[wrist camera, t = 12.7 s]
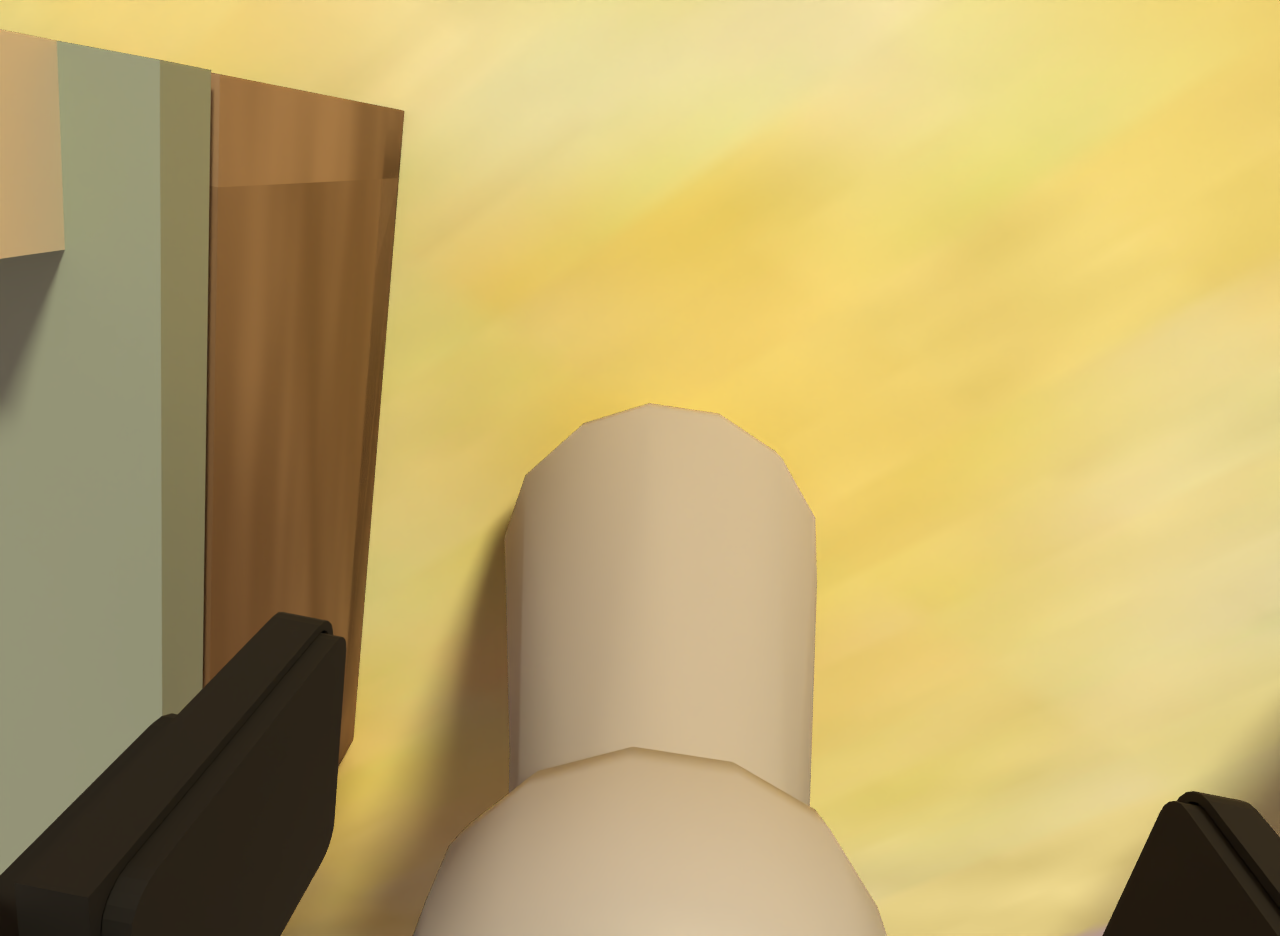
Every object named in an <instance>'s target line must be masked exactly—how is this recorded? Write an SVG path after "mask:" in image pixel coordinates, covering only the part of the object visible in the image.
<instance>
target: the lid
mask: <svg viewBox="0 0 1280 936" xmlns="http://www.w3.org/2000/svg"><path fill="white" fill-rule="evenodd" d="M210 110H211V70H207V69H203V68H198V67H193V66H188V65H183V64H178V63H173V62H168V61H163V60H158V59H153V58H147V57H142V56H137V55H131V54H126V53H120V52H115V51H110V50H104V49H99V48H94V47H88V46H83V45H78V44H72V43H67V42H61V41H56V40H51V39H46V38H41V37H36V36H31V35H26V34H21V33H16V32H11V31H6V30H1V29H0V875H1V874H2V873H3V872H4V871H5V870H6V869H7V868H8V867H9V866H10V865H11V864H12V863H13V862H14V861H15V860H16V859H17V858H18V857H19V856H20V855H21V854H22V853H23V852H24V851H25V850H26V849H27V848H28V847H29V846H30V845H31V844H32V843H33V842H34V841H35V840H36V839H37V838H38V837H39V836H40V835H41V834H42V833H43V832H44V831H45V830H46V829H47V828H48V827H49V826H50V825H51V824H52V823H53V822H54V821H55V820H56V819H57V818H58V817H59V816H60V815H61V814H62V813H63V812H64V811H65V810H66V809H67V808H68V807H69V806H70V805H71V804H72V803H73V802H74V801H75V800H76V799H77V798H78V797H79V796H80V795H81V794H82V793H83V792H84V791H85V790H86V789H87V788H88V787H89V786H90V785H91V784H92V783H93V782H94V781H95V780H96V779H97V778H98V777H99V776H100V775H101V774H102V773H103V772H104V771H105V770H106V769H107V768H108V767H109V766H110V765H111V764H112V763H113V762H114V761H115V760H116V759H117V758H118V757H119V756H120V755H121V754H122V753H123V752H124V751H125V750H126V749H127V748H128V747H129V746H130V745H131V744H132V743H133V742H134V741H135V740H136V739H137V738H138V737H139V736H140V735H141V734H142V733H143V732H144V731H145V730H146V729H147V728H148V727H149V726H150V725H151V724H152V723H153V722H155V721H156V720H157V719H159V718H160V717H161V716H164V715H167V714H171V713H173V714H178V713H179V712H180V711H181V710H182V709H183V708H184V707H185V706H186V705H187V704H188V703H189V702H190V701H191V700H192V699H193V698H194V697H195V696H196V695H197V694H198V693H199V692H200V691H201V690H202V684H203V613H204V541H205V469H206V397H207V325H208V254H209V182H210Z"/></svg>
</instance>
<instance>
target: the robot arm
mask: <svg viewBox="0 0 1280 936" xmlns="http://www.w3.org/2000/svg"><path fill="white" fill-rule="evenodd" d="M345 662H346V640H345V638H344V637H340V636H335V635H333V628H332V624H331V623H330V622H329V621H327V620H321V619H316V618H311V617H306V616H301V615H296V614H291V613H286V612H278V613H277V614H275V615H274V616H273V617H272V618H271V619H270V620H269V621H268V622H267V623H266V624H265V625H264V626H263V627H262V628H261V629H260V630H259V631H258V632H257V633H256V634H255V635H254V636H253V637H252V638H251V639H250V640H249V641H248V642H247V643H246V644H245V645H244V646H243V647H242V649H241V650H240V651H239V652H238V653H237V654H236V655H235V656H234V657H233V658H232V659H231V660H230V661H229V662H228V663H227V664H226V665H225V666H224V667H223V668H222V669H221V670H220V671H219V672H218V673H217V674H216V675H215V676H214V677H213V678H212V679H211V680H210V682H209V683H208V684H207V685H206V686H205V687H204V688H203V689H202V690H201V691H200V692H199V693H198V694H197V695H196V696H195V697H194V698H193V699H192V700H191V701H190V702H189V703H188V704H187V705H186V706H185V707H184V708H183V709H182V710H181V711H180V712H179V713H178V714H173V713H171V714H167V715H164V716H161V717H160V718H159V719H157V720H156V721H155V722H153V723H152V724H151V725H150V726H149V727H148V728H147V729H146V730H145V731H144V732H143V733H142V734H141V735H140V736H139V737H138V738H137V739H136V740H135V741H134V742H133V743H132V744H131V745H130V746H129V747H128V748H127V749H126V750H125V751H124V752H123V753H122V754H121V755H120V756H119V757H118V758H117V759H116V760H115V761H114V762H113V763H112V764H111V765H110V766H109V767H108V768H107V769H106V770H105V771H104V772H103V773H102V774H101V775H100V776H99V777H98V778H97V779H96V780H95V781H94V782H93V783H92V784H91V785H90V786H89V787H88V788H87V789H86V790H85V791H84V792H83V793H82V794H81V795H80V796H79V797H78V798H77V799H76V800H75V801H74V802H73V803H72V804H71V805H70V806H69V807H68V808H67V809H66V810H65V811H64V812H63V813H62V814H61V815H60V816H59V817H58V818H57V819H56V820H55V821H54V822H53V823H52V824H51V825H50V826H49V827H48V828H47V829H46V830H45V831H44V832H43V833H42V834H41V835H40V836H39V837H38V838H37V839H36V840H35V841H34V842H33V843H32V844H31V845H30V846H29V847H28V848H27V849H26V850H25V851H24V852H23V853H22V854H21V855H20V856H19V857H18V858H17V859H16V860H15V861H14V862H13V863H12V864H11V865H10V866H9V867H8V868H7V869H6V870H5V871H4V872H3V873H2V874H1V875H0V936H280V935H281V934H282V932H283V930H284V928H285V926H286V925H287V923H288V921H289V919H290V918H291V916H292V914H293V912H294V910H295V909H296V907H297V905H298V903H299V902H300V900H301V898H302V896H303V894H304V893H305V891H306V889H307V887H308V885H309V884H310V882H311V880H312V878H313V877H314V875H315V873H316V871H317V869H318V868H319V866H320V864H321V862H322V860H323V858H324V856H325V854H326V852H327V849H328V847H329V844H330V840H331V837H332V832H333V827H334V818H335V804H336V789H337V775H338V761H339V747H340V733H341V719H342V705H343V691H344V676H345ZM1103 936H1280V837H1279V836H1278V835H1277V834H1276V833H1275V831H1274V830H1273V829H1272V828H1271V827H1270V825H1269V824H1268V823H1267V822H1266V821H1265V819H1264V818H1263V817H1262V816H1261V815H1260V813H1259V812H1258V811H1257V810H1256V809H1255V808H1254V807H1253V806H1251V805H1250V804H1249V803H1246V802H1243V801H1240V800H1235V799H1230V798H1225V797H1220V796H1215V795H1210V794H1205V793H1200V792H1195V791H1192V792H1186V793H1185V794H1183V795H1182V796H1180V797H1179V799H1178V800H1177V801H1172V802H1168V803H1167V804H1166V805H1164V807H1163V808H1162V810H1161V811H1160V814H1159V816H1158V818H1157V820H1156V822H1155V824H1154V826H1153V829H1152V831H1151V833H1150V835H1149V837H1148V839H1147V842H1146V844H1145V846H1144V848H1143V850H1142V852H1141V854H1140V857H1139V859H1138V861H1137V863H1136V865H1135V867H1134V869H1133V872H1132V874H1131V876H1130V878H1129V880H1128V882H1127V884H1126V887H1125V889H1124V891H1123V893H1122V895H1121V897H1120V899H1119V902H1118V904H1117V906H1116V908H1115V910H1114V912H1113V914H1112V917H1111V919H1110V921H1109V923H1108V925H1107V927H1106V929H1105V932H1104V934H1103Z"/></svg>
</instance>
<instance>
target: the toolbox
mask: <svg viewBox="0 0 1280 936" xmlns="http://www.w3.org/2000/svg"><path fill="white" fill-rule="evenodd" d="M403 120H404V111H403V110H398V109H393V108H387V107H382V106H377V105H372V104H367V103H362V102H357V101H352V100H347V99H342V98H337V97H332V96H327V95H322V94H317V93H312V92H306V91H301V90H296V89H291V88H286V87H281V86H276V85H271V84H266V83H261V82H256V81H251V80H246V79H241V78H236V77H231V76H225V75H220V74H215V73H211V110H210V182H209V254H208V325H207V397H206V469H205V541H204V613H203V684H202V689H203V688H204V687H205V686H206V685H207V684H208V683H209V682H210V680H211V679H212V678H213V677H214V676H215V675H216V674H217V673H218V672H219V671H220V670H221V669H222V668H223V667H224V666H225V665H226V664H227V663H228V662H229V661H230V660H231V659H232V658H233V657H234V656H235V655H236V654H237V653H238V652H239V651H240V650H241V649H242V647H243V646H244V645H245V644H246V643H247V642H248V641H249V640H250V639H251V638H252V637H253V636H254V635H255V634H256V633H257V632H258V631H259V630H260V629H261V628H262V627H263V626H264V625H265V624H266V623H267V622H268V621H269V620H270V619H271V618H272V617H273V616H274V615H275V614H277V613H278V612H286V613H291V614H296V615H301V616H306V617H311V618H316V619H321V620H327V621H329V622H330V623H331V624H332V628H333V635H335V636H340V637H344V638H345V640H346V662H345V676H344V691H343V705H342V719H341V733H340V747H339V761H338V766H339V764H340V762H341V761H342V759H343V757H344V755H345V753H346V752H347V750H348V748H349V746H350V744H351V743H352V741H353V736H354V723H355V711H356V699H357V686H358V674H359V662H360V650H361V637H362V625H363V613H364V600H365V588H366V576H367V563H368V551H369V539H370V526H371V514H372V502H373V489H374V477H375V465H376V453H377V440H378V428H379V416H380V403H381V391H382V379H383V366H384V354H385V342H386V329H387V317H388V305H389V293H390V280H391V268H392V256H393V243H394V231H395V219H396V206H397V194H398V182H399V169H400V157H401V145H402V133H403Z"/></svg>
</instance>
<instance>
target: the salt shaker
mask: <svg viewBox="0 0 1280 936" xmlns="http://www.w3.org/2000/svg"><path fill="white" fill-rule="evenodd" d="M505 574H506V617H507V661H508V704H509V747H510V762H509V794H507V795H506V796H505V797H503V798H502V799H501V800H500V801H498V802H497V803H496V804H494V805H493V806H492V807H490V808H489V809H488V810H487V811H485V812H484V813H483V814H481V815H480V816H479V817H478V818H476V819H475V820H474V821H472V822H471V823H470V824H469V825H468V826H467V827H466V828H465V829H464V830H463V831H462V832H461V833H460V834H459V835H458V836H457V837H456V839H455V840H454V841H453V842H452V843H451V844H450V845H449V847H448V850H447V852H446V854H445V857H444V859H443V861H442V864H441V866H440V869H439V871H438V873H437V876H436V878H435V880H434V883H433V885H432V887H431V890H430V892H429V895H428V897H427V899H426V902H425V904H424V907H423V910H422V913H421V915H420V918H419V921H418V923H417V926H416V929H415V931H414V934H413V936H887V934H886V931H885V928H884V925H883V922H882V919H881V916H880V913H879V910H878V907H877V905H876V904H875V902H874V900H873V899H872V897H871V895H870V894H869V892H868V890H867V889H866V887H865V886H864V884H863V882H862V881H861V879H860V877H859V876H858V874H857V873H856V871H855V869H854V868H853V866H852V864H851V863H850V861H849V859H848V858H847V856H846V855H845V853H844V851H843V850H842V848H841V846H840V845H839V843H838V841H837V840H836V838H835V837H834V835H833V833H832V832H831V830H830V829H829V827H828V826H827V825H826V823H825V822H824V821H823V819H822V818H821V817H820V815H819V814H818V813H817V812H816V810H815V809H813V808H811V807H810V779H811V748H812V717H813V686H814V655H815V624H816V593H817V570H816V532H815V516H814V515H813V513H812V511H811V509H810V508H809V506H808V504H807V502H806V500H805V499H804V497H803V495H802V493H801V491H800V490H799V488H798V486H797V484H796V483H795V481H794V479H793V477H792V475H791V474H790V472H789V470H788V468H787V466H786V465H785V463H784V461H783V459H782V458H781V457H780V456H779V455H778V454H777V452H776V451H774V450H773V449H771V448H770V447H768V446H767V445H765V444H764V443H762V442H761V441H759V440H758V439H756V438H755V437H753V436H752V435H750V434H749V433H747V432H746V431H744V430H743V429H741V428H740V427H738V426H737V425H735V424H734V423H732V422H731V421H729V420H728V419H726V418H725V417H723V416H722V415H720V414H717V413H711V412H704V411H697V410H691V409H684V408H678V407H671V406H664V405H658V404H651V403H648V404H645V405H642V406H639V407H635V408H632V409H629V410H626V411H622V412H619V413H616V414H612V415H609V416H606V417H603V418H599V419H596V420H593V421H589V422H586V423H584V424H582V425H581V426H580V427H579V428H578V429H577V430H576V431H575V432H573V433H572V434H571V435H570V436H569V437H568V438H567V439H566V440H564V441H563V442H562V443H561V444H560V445H559V446H558V447H557V448H555V449H554V450H553V451H552V452H551V453H550V454H549V455H548V456H547V457H545V458H544V459H543V460H542V461H541V462H540V463H539V464H538V465H536V466H535V467H534V468H533V469H532V470H531V471H530V472H529V473H528V474H526V475H525V478H524V481H523V484H522V487H521V490H520V493H519V496H518V499H517V502H516V505H515V508H514V511H513V514H512V517H511V520H510V523H509V525H508V528H507V531H506V534H505Z"/></svg>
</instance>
